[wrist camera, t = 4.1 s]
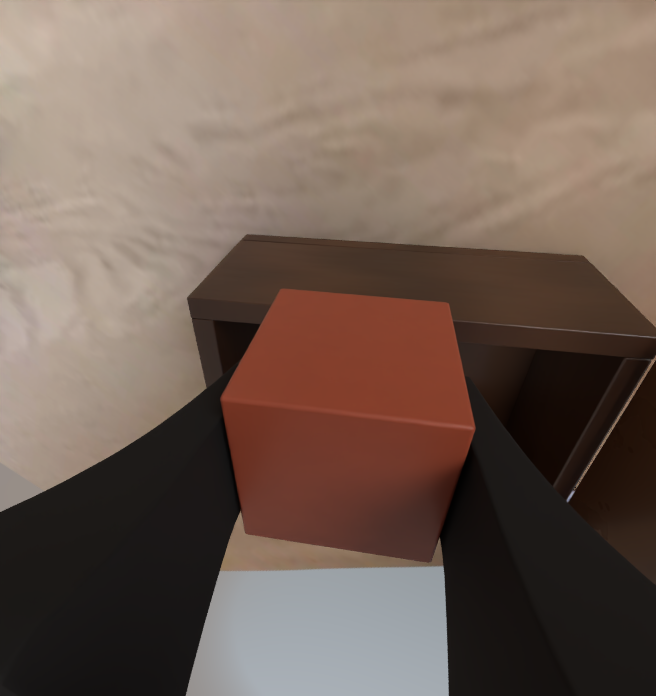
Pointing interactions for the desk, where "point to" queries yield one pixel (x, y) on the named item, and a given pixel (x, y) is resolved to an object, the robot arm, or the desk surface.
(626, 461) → the chest lid
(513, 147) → the desk surface
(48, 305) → the desk surface
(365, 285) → the chest
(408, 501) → the block
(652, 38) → the desk surface
